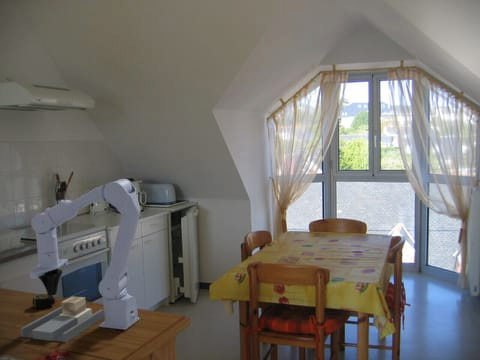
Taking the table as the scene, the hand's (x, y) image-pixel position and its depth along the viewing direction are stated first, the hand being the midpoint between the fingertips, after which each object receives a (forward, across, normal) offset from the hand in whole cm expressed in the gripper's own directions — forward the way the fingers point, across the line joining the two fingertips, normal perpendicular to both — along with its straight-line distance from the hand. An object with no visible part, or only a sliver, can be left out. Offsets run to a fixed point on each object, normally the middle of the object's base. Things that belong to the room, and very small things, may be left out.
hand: (52, 294), depth 145 cm
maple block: (+7, -4, +4) cm, 9 cm away
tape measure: (+10, -13, -15) cm, 22 cm away
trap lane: (+10, +1, +4) cm, 10 cm away
